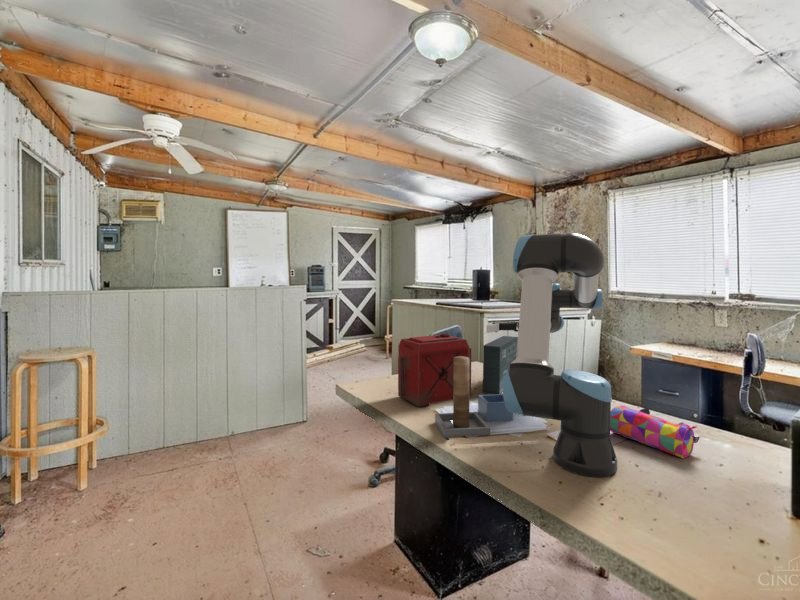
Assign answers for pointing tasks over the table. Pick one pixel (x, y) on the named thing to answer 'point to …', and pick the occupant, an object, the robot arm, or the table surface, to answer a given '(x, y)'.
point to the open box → (493, 408)
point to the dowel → (461, 391)
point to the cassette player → (497, 362)
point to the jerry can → (429, 367)
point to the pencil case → (653, 431)
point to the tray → (475, 428)
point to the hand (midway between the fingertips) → (503, 330)
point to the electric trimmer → (645, 411)
